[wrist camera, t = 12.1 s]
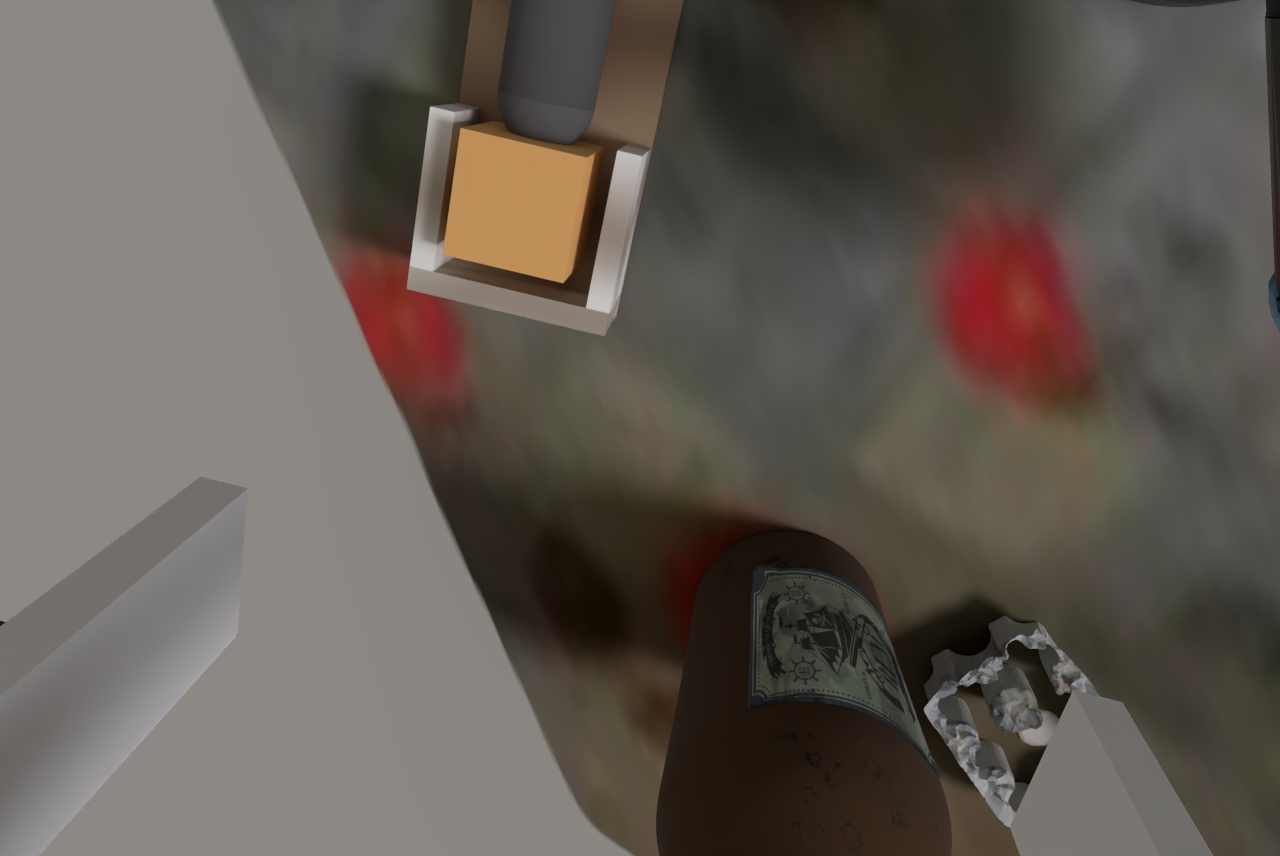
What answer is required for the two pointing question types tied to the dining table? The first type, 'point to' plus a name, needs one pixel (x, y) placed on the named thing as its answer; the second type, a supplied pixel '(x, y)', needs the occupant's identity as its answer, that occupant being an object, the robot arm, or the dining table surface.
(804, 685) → the olive oil
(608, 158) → the wooden stand
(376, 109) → the dining table surface
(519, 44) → the grey handled block hammer
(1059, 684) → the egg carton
